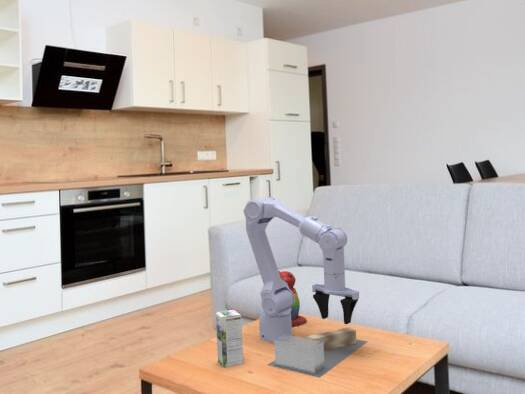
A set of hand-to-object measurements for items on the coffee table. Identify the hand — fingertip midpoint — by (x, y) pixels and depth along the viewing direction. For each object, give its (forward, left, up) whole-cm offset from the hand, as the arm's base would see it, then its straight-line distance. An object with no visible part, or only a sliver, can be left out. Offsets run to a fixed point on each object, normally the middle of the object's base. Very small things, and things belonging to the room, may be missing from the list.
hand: (336, 320), depth 141 cm
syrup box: (-21, -21, -10) cm, 32 cm away
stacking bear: (-27, +16, -10) cm, 33 cm away
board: (-3, -4, -9) cm, 11 cm away
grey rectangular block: (-3, -15, -8) cm, 17 cm away
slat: (-3, 0, -8) cm, 9 cm away
